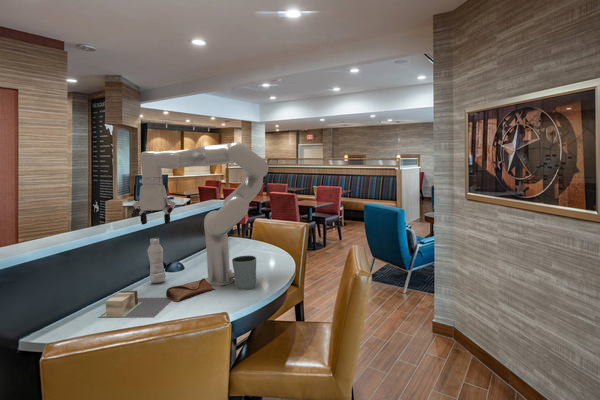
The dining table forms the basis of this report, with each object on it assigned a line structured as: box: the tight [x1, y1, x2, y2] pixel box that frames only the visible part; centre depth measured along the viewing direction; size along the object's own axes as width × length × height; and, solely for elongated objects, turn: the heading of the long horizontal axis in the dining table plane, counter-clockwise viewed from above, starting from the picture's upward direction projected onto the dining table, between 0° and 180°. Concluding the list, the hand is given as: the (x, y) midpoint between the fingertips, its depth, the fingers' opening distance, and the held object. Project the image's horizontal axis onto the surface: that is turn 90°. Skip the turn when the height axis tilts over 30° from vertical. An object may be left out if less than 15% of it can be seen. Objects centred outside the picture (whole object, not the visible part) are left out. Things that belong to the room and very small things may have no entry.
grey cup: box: [231, 255, 257, 291], centre depth 149 cm, size 10×10×12 cm
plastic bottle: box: [147, 237, 167, 284], centre depth 157 cm, size 6×7×20 cm
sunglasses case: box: [165, 278, 215, 302], centre depth 142 cm, size 18×7×7 cm, turn 139°
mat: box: [97, 296, 173, 319], centre depth 130 cm, size 20×18×1 cm
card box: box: [104, 290, 139, 315], centre depth 128 cm, size 10×6×5 cm, turn 177°
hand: (155, 223), depth 145 cm, fingers open, 9 cm apart
